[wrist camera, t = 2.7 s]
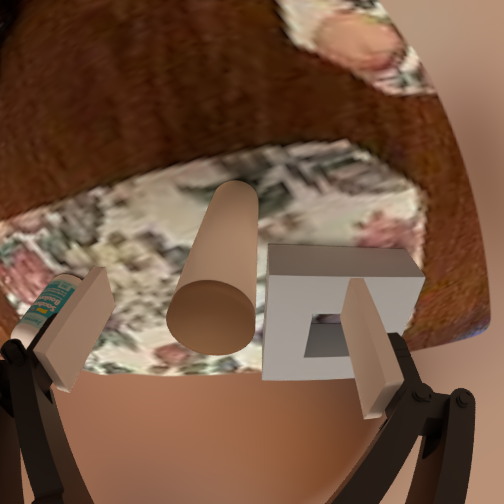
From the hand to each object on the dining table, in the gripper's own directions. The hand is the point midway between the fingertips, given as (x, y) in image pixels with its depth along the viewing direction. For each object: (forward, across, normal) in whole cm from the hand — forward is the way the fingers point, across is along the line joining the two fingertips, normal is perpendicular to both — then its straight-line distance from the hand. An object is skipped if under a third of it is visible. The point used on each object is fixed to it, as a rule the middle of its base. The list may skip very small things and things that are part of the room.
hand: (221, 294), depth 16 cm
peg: (+12, 0, 0) cm, 12 cm away
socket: (+12, +10, -11) cm, 19 cm away
